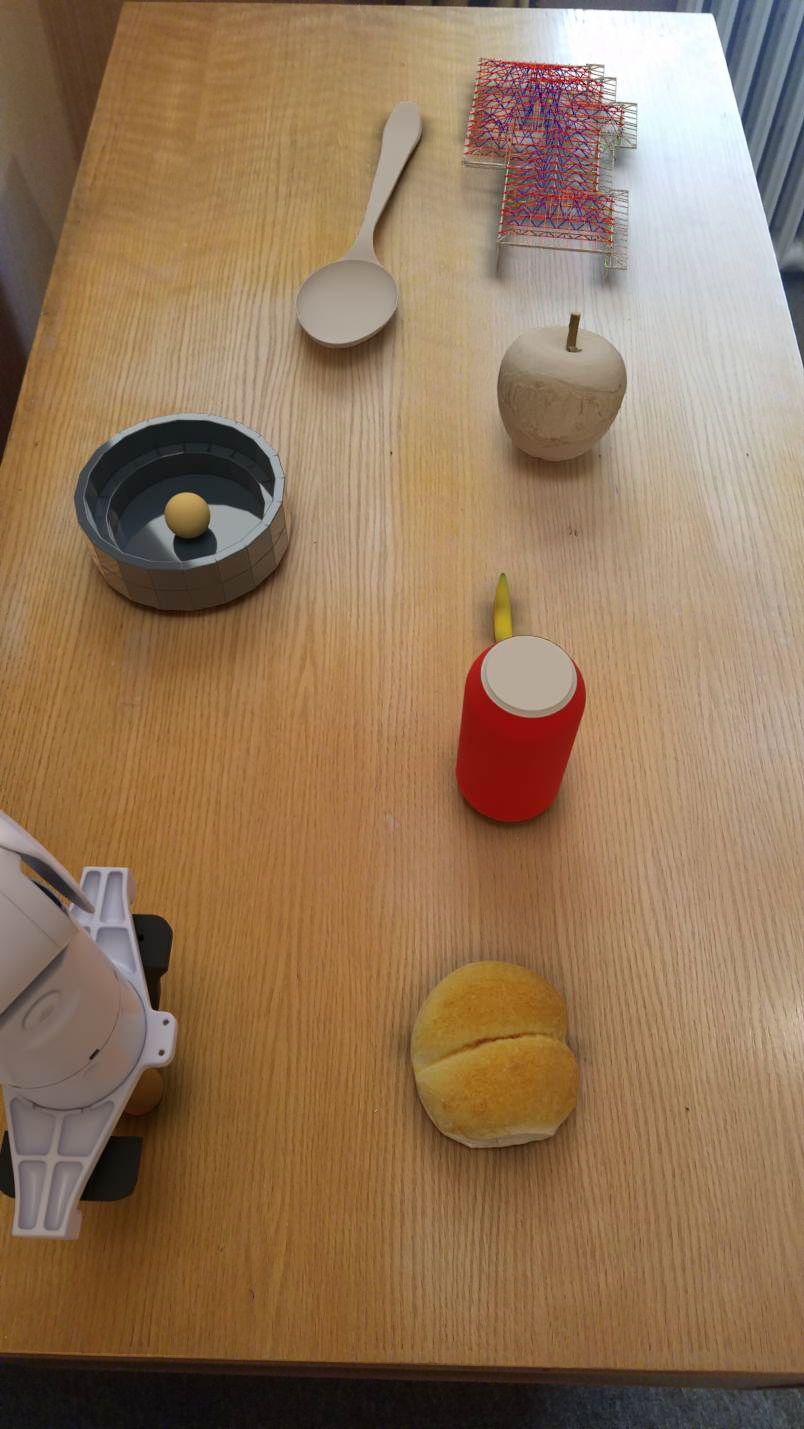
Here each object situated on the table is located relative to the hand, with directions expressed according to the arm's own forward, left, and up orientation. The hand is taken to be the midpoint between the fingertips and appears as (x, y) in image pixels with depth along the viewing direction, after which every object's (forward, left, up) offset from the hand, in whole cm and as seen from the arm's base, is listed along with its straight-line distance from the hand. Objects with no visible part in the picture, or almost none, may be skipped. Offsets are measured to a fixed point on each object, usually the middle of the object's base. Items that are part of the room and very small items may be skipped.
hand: (127, 1079), depth 49 cm
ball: (-2, +36, -1) cm, 36 cm away
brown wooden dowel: (0, 0, -3) cm, 3 cm away
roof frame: (+24, +78, -3) cm, 82 cm away
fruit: (+19, +29, -3) cm, 35 cm away
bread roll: (+18, +2, -3) cm, 18 cm away
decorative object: (+23, +46, -3) cm, 52 cm away
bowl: (-2, +36, -3) cm, 36 cm away
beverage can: (+19, +18, -3) cm, 26 cm away
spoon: (+9, +70, -3) cm, 71 cm away
